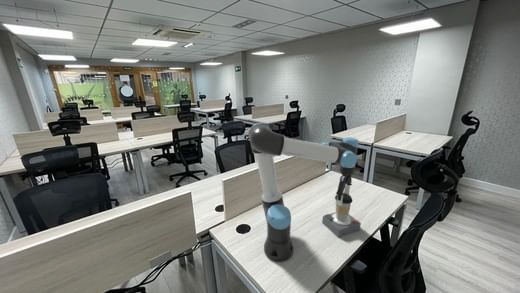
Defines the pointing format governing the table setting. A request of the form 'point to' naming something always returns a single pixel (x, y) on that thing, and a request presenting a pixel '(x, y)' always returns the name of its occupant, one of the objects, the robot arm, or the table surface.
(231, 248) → the table surface
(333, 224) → the grey dome button box
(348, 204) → the coffee cup
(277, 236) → the robot arm
